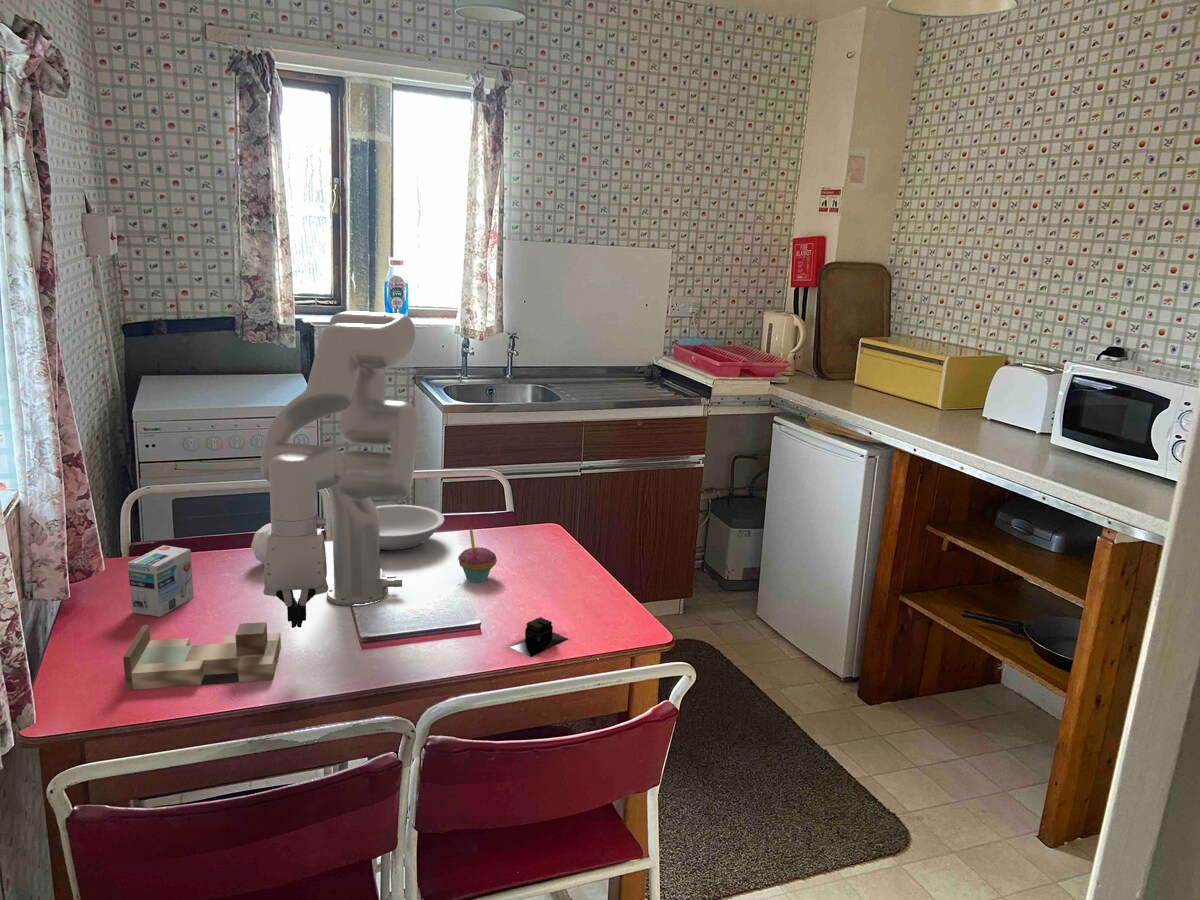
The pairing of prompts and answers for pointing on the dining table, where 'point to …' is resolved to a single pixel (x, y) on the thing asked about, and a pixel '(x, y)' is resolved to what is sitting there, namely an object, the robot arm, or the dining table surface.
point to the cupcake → (477, 562)
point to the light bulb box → (160, 580)
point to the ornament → (260, 542)
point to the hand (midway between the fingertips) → (297, 624)
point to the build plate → (538, 638)
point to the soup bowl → (406, 525)
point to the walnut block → (251, 639)
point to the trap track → (194, 662)
